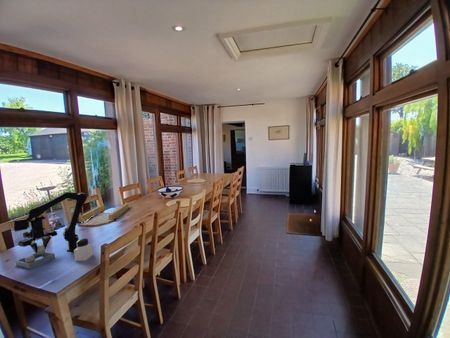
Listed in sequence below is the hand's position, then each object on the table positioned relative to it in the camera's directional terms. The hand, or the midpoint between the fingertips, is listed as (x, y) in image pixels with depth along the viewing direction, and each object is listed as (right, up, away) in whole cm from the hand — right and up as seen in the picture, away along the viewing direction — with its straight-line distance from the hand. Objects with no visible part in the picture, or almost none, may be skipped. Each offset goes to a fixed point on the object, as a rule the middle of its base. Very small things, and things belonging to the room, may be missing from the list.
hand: (40, 251), depth 140 cm
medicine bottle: (+28, -5, 0) cm, 28 cm away
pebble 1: (-2, -6, -5) cm, 8 cm away
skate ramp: (-5, +2, +82) cm, 82 cm away
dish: (-1, -6, -2) cm, 6 cm away
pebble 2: (0, -1, 0) cm, 1 cm away
